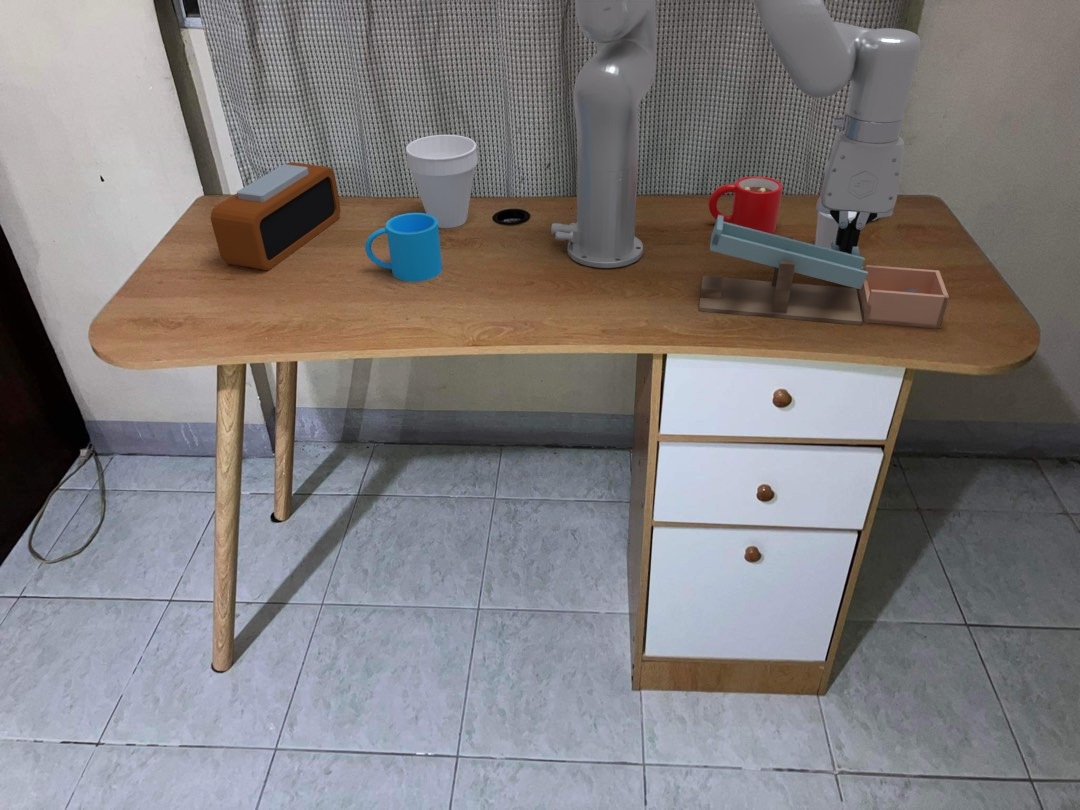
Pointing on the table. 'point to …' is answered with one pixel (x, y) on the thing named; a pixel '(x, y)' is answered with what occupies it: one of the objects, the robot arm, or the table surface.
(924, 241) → the table surface
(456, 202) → the white flower pot
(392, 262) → the mug
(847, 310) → the launcher base
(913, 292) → the ball
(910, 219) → the table surface
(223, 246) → the alarm clock
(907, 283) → the pink open box
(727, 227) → the lever
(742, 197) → the mug
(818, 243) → the white cylinder
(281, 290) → the table surface
